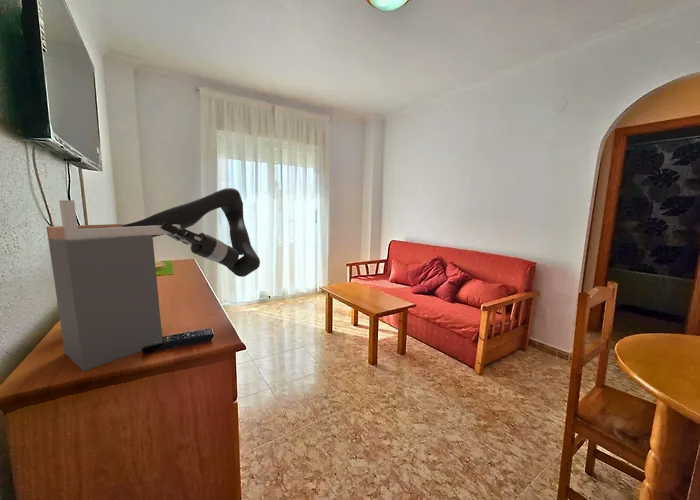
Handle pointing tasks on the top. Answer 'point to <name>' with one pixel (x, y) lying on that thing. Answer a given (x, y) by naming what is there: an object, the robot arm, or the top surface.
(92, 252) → the charcoal stand
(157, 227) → the aluminium bracket
